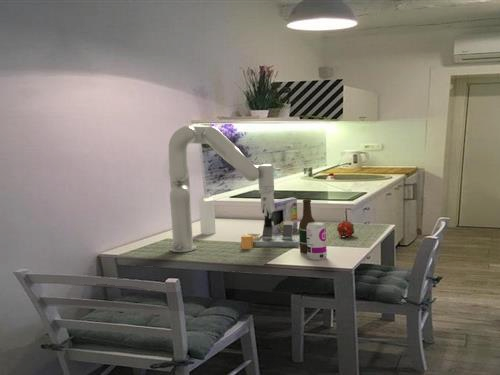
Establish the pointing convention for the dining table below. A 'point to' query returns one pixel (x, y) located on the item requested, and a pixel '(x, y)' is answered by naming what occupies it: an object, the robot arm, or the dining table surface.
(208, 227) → the milk
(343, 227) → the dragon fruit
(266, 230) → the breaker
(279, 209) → the cake pan box
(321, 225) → the supplement can
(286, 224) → the block
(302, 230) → the beer bottle
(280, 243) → the breaker panel
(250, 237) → the orange rectangular block
